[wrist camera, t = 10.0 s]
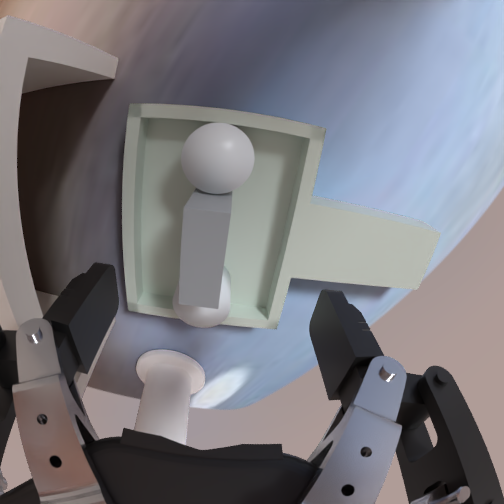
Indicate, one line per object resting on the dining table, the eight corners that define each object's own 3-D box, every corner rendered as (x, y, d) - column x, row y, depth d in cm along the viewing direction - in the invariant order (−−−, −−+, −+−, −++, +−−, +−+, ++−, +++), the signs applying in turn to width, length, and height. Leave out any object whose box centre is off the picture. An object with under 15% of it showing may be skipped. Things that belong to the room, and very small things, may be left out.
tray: (438, 169, 17) (495, 193, 11) (384, 314, 23) (414, 363, 17) (143, 105, 14) (96, 99, 9) (137, 291, 20) (110, 348, 15)
